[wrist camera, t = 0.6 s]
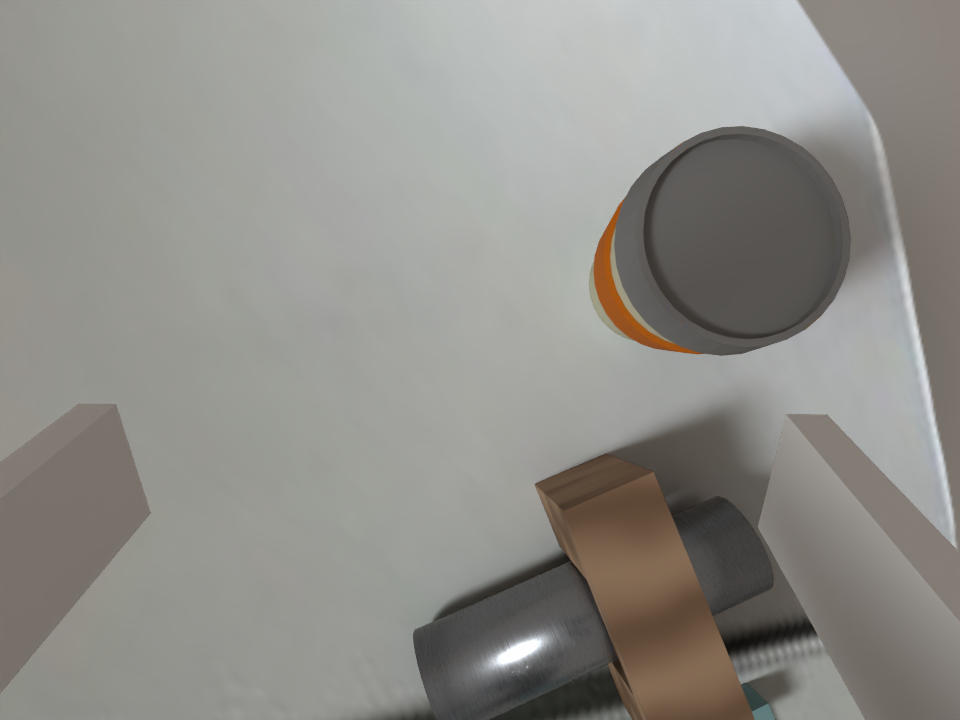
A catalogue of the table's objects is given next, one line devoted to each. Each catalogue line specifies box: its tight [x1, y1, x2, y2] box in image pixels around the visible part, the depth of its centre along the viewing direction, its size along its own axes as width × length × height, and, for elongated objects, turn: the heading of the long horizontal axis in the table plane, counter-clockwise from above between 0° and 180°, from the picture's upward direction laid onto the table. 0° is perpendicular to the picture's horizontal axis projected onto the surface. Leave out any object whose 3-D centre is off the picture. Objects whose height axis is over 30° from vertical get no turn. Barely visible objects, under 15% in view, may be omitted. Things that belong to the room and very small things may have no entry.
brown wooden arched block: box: [535, 454, 755, 720], centre depth 40 cm, size 18×6×10 cm, turn 22°
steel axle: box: [413, 496, 774, 720], centre depth 41 cm, size 24×7×7 cm, turn 112°
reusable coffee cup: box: [589, 126, 850, 356], centre depth 39 cm, size 13×13×15 cm
